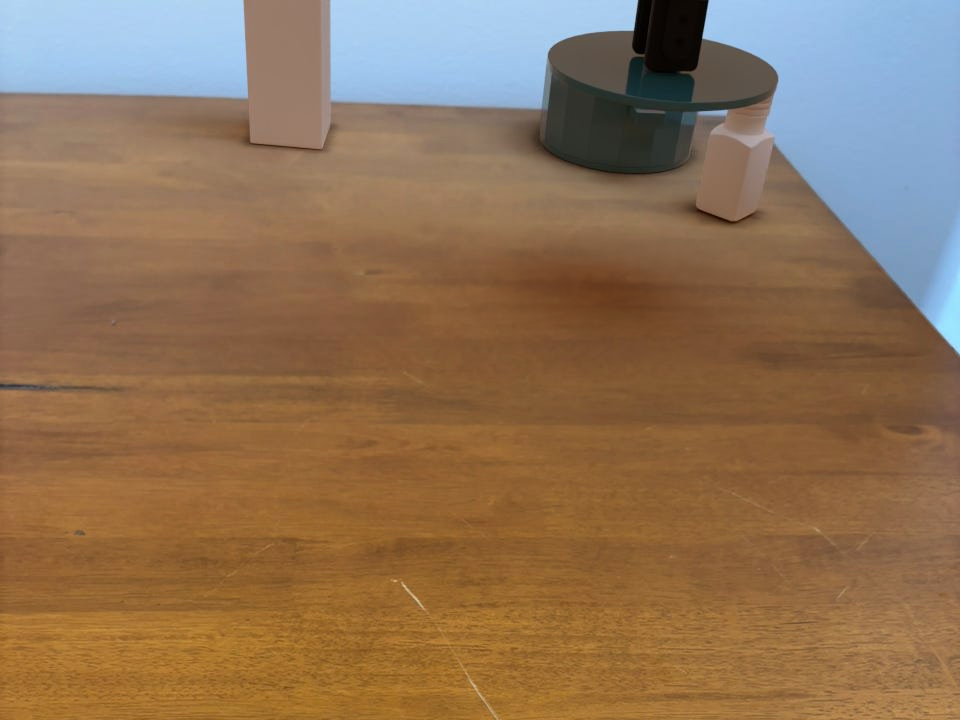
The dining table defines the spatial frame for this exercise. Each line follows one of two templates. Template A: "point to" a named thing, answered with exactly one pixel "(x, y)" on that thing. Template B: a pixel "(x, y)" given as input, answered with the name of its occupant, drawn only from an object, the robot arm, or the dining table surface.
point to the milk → (288, 71)
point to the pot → (612, 131)
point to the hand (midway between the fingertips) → (663, 58)
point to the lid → (661, 74)
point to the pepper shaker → (736, 163)
